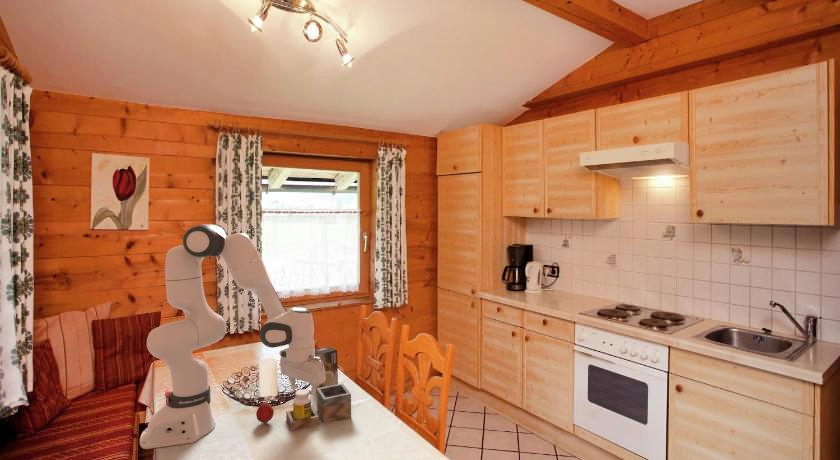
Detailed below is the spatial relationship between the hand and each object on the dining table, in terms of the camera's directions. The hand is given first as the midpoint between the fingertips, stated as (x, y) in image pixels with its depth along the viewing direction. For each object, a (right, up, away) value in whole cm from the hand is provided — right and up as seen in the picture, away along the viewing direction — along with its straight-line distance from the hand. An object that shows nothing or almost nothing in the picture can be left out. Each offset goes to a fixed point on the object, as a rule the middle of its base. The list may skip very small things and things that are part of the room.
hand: (303, 391), depth 157 cm
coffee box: (+1, -9, +30) cm, 31 cm away
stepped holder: (+4, -11, +3) cm, 12 cm away
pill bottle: (-1, -11, +1) cm, 11 cm away
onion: (-14, -12, 0) cm, 18 cm away
